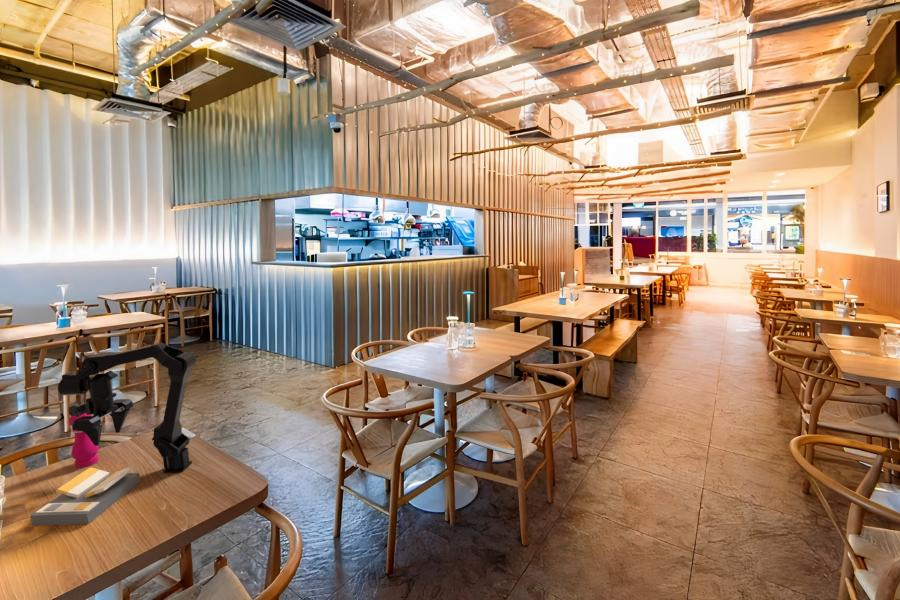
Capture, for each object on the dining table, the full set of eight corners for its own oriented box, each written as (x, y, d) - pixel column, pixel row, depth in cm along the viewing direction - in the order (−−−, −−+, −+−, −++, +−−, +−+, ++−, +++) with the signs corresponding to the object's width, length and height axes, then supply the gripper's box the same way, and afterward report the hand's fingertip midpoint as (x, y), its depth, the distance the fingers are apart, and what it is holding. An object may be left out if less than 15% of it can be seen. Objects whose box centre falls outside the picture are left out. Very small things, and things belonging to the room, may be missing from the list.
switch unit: (140, 481, 138) (138, 470, 137) (88, 523, 118) (86, 511, 117) (92, 483, 138) (90, 472, 137) (32, 525, 117) (29, 513, 117)
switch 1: (109, 475, 136) (109, 472, 136) (77, 498, 124) (78, 495, 124) (89, 469, 136) (90, 467, 136) (56, 492, 124) (56, 489, 124)
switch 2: (133, 468, 136) (132, 465, 136) (104, 490, 124) (102, 487, 124) (116, 475, 136) (115, 472, 136) (85, 498, 125) (84, 495, 124)
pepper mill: (84, 469, 146) (76, 412, 143) (67, 467, 148) (58, 411, 145) (105, 458, 153) (98, 404, 150) (89, 457, 155) (81, 403, 152)
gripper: (97, 383, 148) (104, 427, 151) (49, 404, 130) (57, 453, 132) (131, 382, 149) (136, 426, 151) (87, 403, 130) (95, 452, 132)
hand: (107, 438), depth 142 cm, fingers open, 9 cm apart
